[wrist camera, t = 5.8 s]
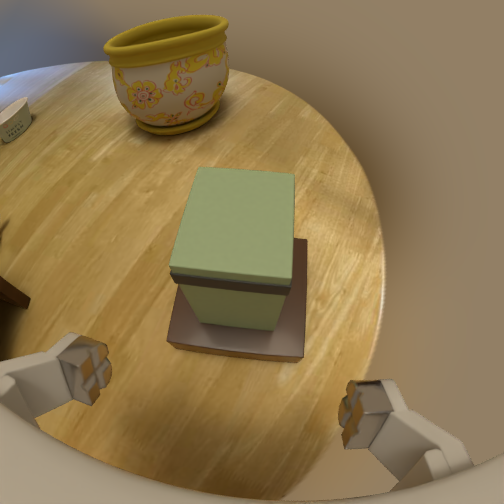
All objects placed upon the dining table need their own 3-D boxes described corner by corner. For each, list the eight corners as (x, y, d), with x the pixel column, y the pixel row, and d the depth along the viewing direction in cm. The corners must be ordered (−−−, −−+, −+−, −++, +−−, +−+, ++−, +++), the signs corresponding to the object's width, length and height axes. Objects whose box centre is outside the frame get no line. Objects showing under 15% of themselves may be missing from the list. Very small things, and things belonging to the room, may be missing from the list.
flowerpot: (211, 83, 48) (206, 10, 34) (249, 125, 40) (250, 26, 26) (123, 110, 44) (103, 36, 30) (134, 162, 36) (102, 60, 22)
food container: (4, 151, 42) (-8, 131, 36) (-2, 140, 45) (-12, 123, 40) (41, 119, 47) (31, 99, 41) (30, 112, 50) (22, 95, 44)
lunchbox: (281, 254, 25) (296, 172, 17) (275, 332, 22) (294, 280, 13) (212, 247, 26) (197, 165, 17) (198, 323, 22) (165, 267, 13)
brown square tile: (302, 254, 29) (307, 239, 26) (297, 362, 23) (303, 357, 21) (196, 244, 29) (192, 228, 27) (174, 348, 24) (166, 341, 21)
